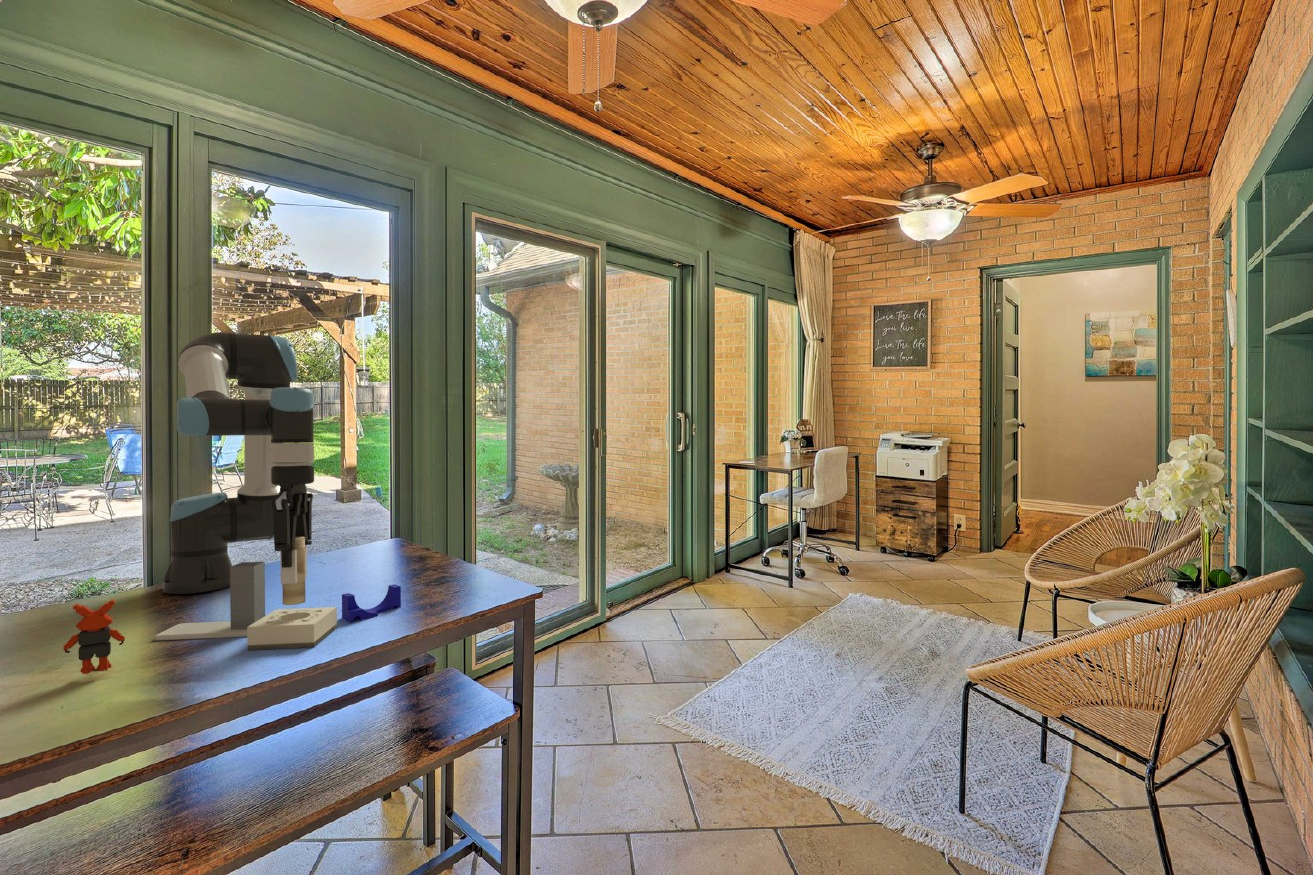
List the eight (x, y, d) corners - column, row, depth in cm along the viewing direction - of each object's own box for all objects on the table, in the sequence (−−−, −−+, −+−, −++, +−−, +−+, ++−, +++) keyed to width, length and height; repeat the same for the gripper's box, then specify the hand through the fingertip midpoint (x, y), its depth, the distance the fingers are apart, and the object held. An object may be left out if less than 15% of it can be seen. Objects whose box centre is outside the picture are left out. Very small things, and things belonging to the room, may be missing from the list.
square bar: (242, 622, 134) (241, 562, 134) (265, 621, 135) (264, 561, 135) (230, 629, 130) (229, 566, 130) (254, 628, 130) (253, 566, 130)
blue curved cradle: (350, 625, 136) (350, 597, 136) (342, 621, 139) (341, 594, 139) (404, 613, 145) (403, 587, 145) (394, 609, 148) (394, 584, 148)
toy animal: (127, 659, 116) (126, 594, 116) (124, 668, 111) (123, 600, 111) (68, 668, 111) (67, 601, 111) (62, 678, 107) (61, 608, 107)
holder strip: (179, 628, 134) (179, 623, 134) (280, 623, 137) (280, 619, 137) (155, 640, 126) (155, 635, 126) (262, 635, 129) (262, 630, 129)
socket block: (276, 630, 132) (276, 609, 132) (337, 628, 134) (336, 606, 134) (247, 650, 120) (247, 626, 120) (314, 647, 122) (313, 624, 122)
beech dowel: (288, 600, 128) (287, 536, 128) (308, 599, 129) (308, 536, 129) (278, 605, 124) (278, 540, 124) (300, 604, 125) (299, 539, 125)
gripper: (291, 462, 135) (292, 571, 135) (251, 466, 118) (252, 591, 118) (328, 462, 136) (330, 570, 136) (294, 466, 119) (295, 589, 119)
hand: (294, 580), depth 127 cm, fingers closed on beech dowel, 4 cm apart
